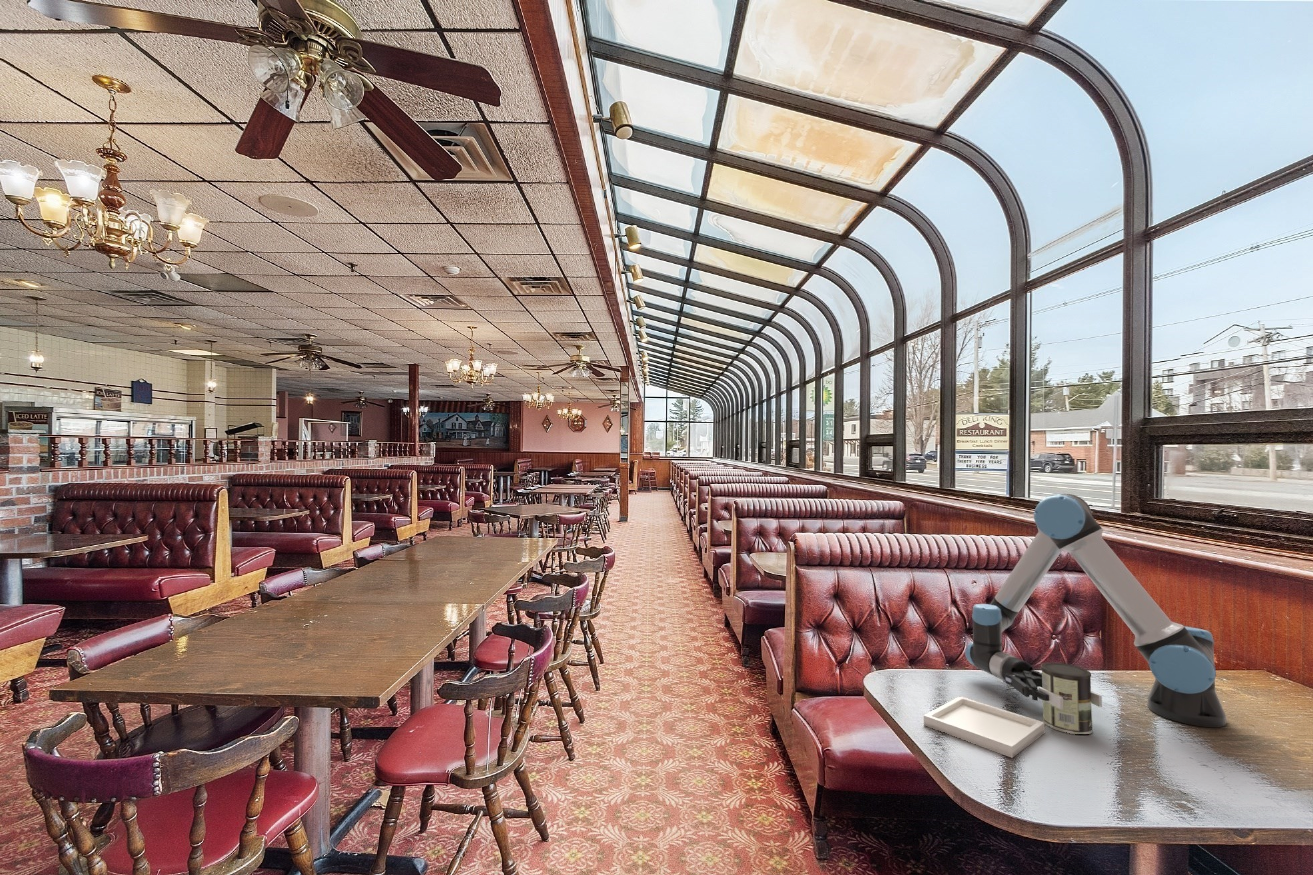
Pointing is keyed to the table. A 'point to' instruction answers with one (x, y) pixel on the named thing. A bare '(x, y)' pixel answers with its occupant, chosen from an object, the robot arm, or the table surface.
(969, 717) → the serving tray
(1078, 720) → the coffee can
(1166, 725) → the table surface
